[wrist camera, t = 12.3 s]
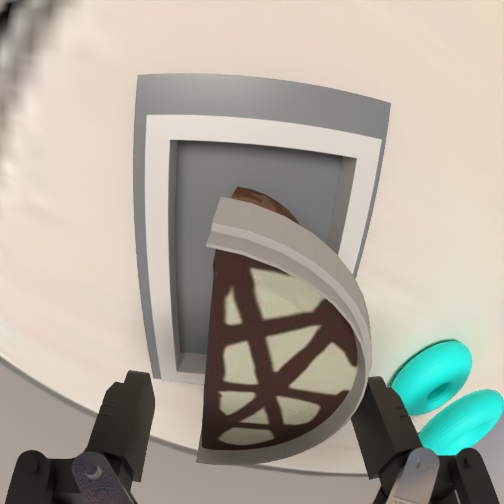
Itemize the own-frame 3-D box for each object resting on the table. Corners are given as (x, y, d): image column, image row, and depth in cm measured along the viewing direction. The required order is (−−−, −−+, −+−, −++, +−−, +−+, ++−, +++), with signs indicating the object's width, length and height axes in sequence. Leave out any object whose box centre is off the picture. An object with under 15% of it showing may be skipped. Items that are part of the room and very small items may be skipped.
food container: (303, 349, 21) (318, 474, 12) (218, 339, 21) (195, 466, 12) (352, 179, 16) (450, 260, 7) (240, 159, 15) (208, 220, 6)
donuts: (412, 480, 20) (425, 447, 15) (385, 411, 29) (384, 360, 24) (491, 437, 19) (522, 388, 14) (456, 377, 28) (469, 320, 23)
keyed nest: (317, 376, 24) (324, 402, 22) (155, 369, 23) (149, 396, 21) (383, 103, 15) (408, 103, 12) (143, 76, 14) (125, 70, 11)
